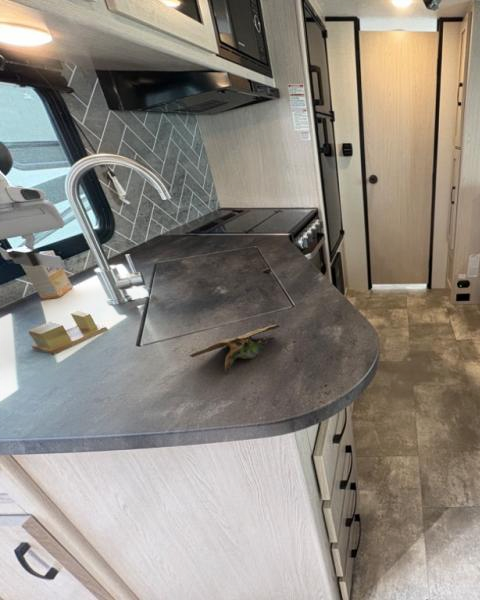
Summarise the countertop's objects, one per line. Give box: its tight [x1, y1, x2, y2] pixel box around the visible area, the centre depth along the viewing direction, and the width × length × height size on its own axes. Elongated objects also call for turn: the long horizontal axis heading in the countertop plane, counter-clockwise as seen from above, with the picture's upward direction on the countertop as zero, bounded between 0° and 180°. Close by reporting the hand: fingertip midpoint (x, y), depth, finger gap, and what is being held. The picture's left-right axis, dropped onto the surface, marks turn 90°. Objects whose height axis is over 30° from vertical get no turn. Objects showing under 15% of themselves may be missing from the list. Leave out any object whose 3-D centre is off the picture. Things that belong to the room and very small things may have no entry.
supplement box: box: [20, 250, 73, 300], centre depth 97 cm, size 8×5×13 cm, turn 22°
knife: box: [6, 246, 67, 270], centre depth 72 cm, size 18×2×3 cm, turn 71°
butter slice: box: [70, 310, 97, 331], centre depth 78 cm, size 5×2×4 cm, turn 70°
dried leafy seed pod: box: [188, 324, 280, 375], centre depth 67 cm, size 18×14×8 cm
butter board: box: [27, 321, 108, 356], centre depth 75 cm, size 8×11×5 cm
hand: (21, 256), depth 75 cm, fingers closed on knife, 2 cm apart
